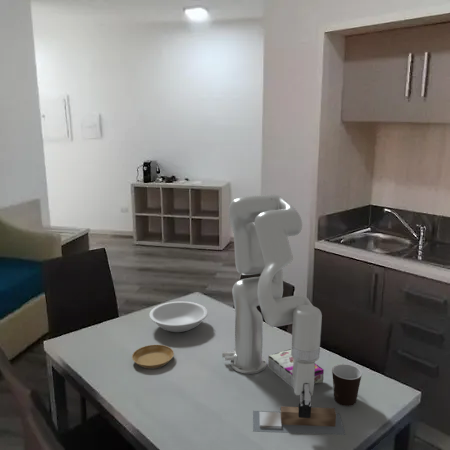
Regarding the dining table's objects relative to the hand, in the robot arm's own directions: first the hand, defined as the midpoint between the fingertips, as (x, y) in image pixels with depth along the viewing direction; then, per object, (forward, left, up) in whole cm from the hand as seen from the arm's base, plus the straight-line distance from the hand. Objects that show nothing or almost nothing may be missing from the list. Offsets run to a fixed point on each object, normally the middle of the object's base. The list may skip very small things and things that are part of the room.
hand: (302, 405), depth 126 cm
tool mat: (-1, 0, -6) cm, 6 cm away
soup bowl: (-44, +59, -6) cm, 74 cm away
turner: (-2, -1, -5) cm, 5 cm away
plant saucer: (-49, +31, -6) cm, 59 cm away
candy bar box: (+5, +17, -3) cm, 18 cm away
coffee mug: (+15, +12, -6) cm, 20 cm away
